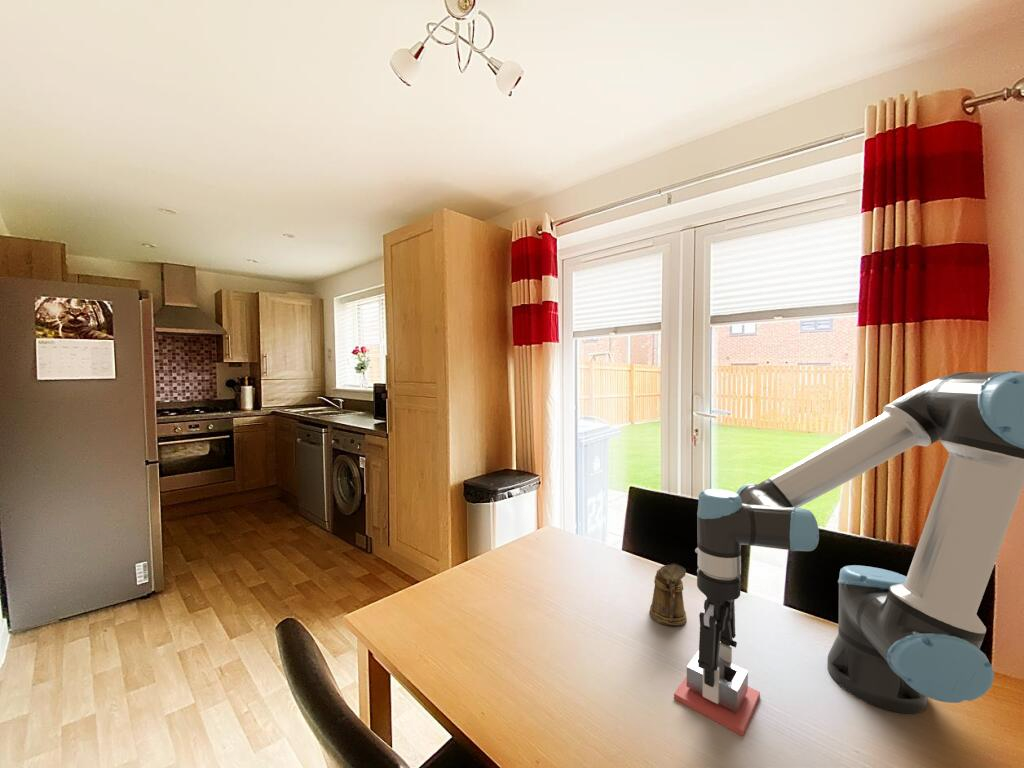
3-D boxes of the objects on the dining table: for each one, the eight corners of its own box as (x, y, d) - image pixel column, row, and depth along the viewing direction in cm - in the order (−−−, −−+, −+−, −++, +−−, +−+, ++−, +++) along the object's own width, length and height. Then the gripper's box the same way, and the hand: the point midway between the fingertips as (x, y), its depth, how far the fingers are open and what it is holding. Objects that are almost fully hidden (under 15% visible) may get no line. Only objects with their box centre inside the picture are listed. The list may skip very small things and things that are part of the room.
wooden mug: (653, 635, 99) (654, 561, 98) (647, 604, 112) (648, 539, 111) (693, 640, 97) (694, 565, 96) (682, 608, 110) (683, 542, 109)
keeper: (759, 696, 80) (760, 659, 80) (742, 736, 71) (743, 694, 71) (696, 666, 88) (696, 632, 88) (674, 698, 79) (674, 660, 79)
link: (747, 691, 79) (747, 671, 79) (737, 712, 74) (737, 691, 74) (699, 667, 85) (699, 649, 85) (686, 686, 80) (686, 666, 80)
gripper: (714, 549, 89) (714, 653, 89) (678, 583, 74) (677, 707, 75) (753, 560, 84) (752, 670, 84) (723, 599, 69) (721, 731, 70)
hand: (717, 687), depth 79 cm, fingers closed on link, 7 cm apart
